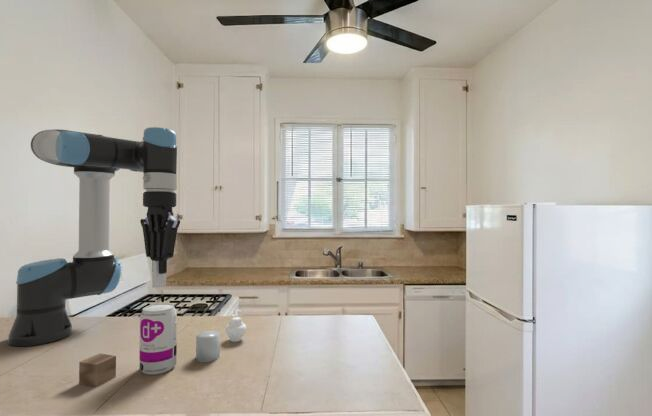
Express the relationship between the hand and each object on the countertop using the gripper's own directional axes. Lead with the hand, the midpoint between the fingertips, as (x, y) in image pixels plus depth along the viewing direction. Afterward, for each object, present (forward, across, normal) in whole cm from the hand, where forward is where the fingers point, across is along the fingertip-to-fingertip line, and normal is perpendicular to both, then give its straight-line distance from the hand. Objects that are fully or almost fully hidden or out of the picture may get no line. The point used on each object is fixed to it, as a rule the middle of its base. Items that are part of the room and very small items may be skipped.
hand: (159, 286), depth 87 cm
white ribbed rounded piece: (+20, +2, +24) cm, 32 cm away
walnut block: (+20, -6, -11) cm, 24 cm away
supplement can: (+20, 0, 0) cm, 20 cm away
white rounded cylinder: (+20, +5, +11) cm, 24 cm away
